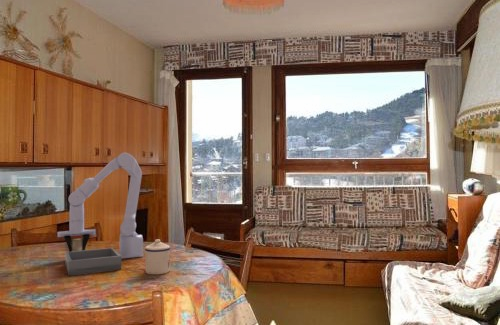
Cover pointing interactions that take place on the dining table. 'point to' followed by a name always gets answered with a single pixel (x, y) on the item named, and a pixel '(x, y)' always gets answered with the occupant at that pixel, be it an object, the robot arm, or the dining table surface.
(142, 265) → the dining table surface
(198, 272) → the dining table surface
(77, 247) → the peg
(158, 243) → the teacup with lid
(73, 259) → the box
